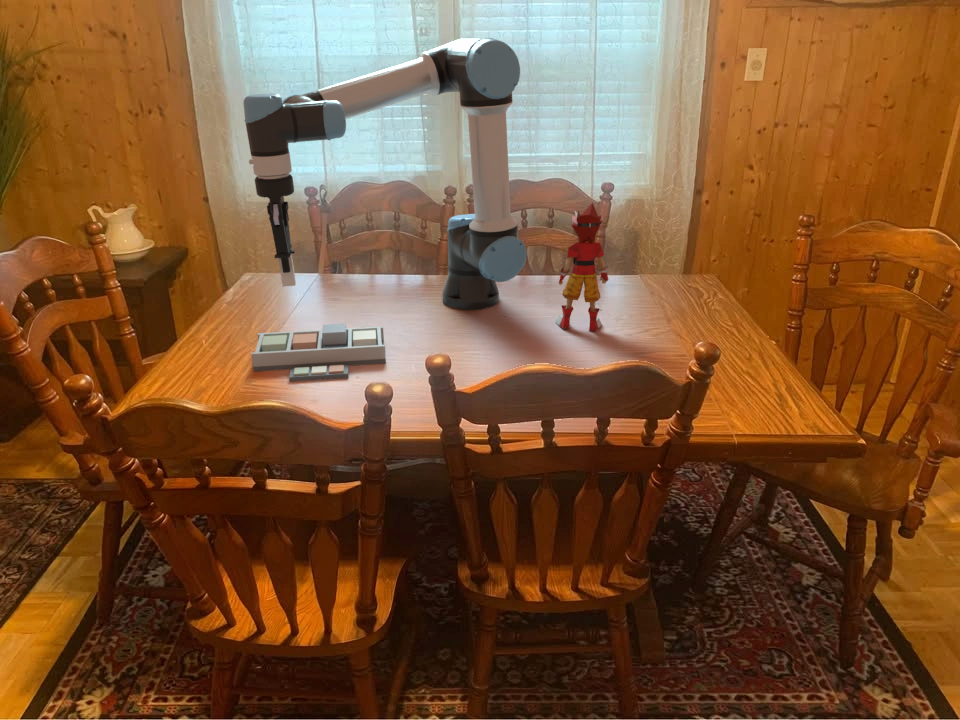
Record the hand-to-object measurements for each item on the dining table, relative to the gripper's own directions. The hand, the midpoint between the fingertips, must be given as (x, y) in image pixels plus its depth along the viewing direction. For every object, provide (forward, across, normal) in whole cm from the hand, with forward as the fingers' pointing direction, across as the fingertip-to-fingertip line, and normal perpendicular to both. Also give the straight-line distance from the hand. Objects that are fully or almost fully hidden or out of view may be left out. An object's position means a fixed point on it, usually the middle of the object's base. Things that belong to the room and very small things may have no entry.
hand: (289, 284), depth 159 cm
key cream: (+15, +3, +15) cm, 21 cm away
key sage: (+14, +3, -5) cm, 15 cm away
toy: (+18, -5, +67) cm, 70 cm away
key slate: (+12, +3, +9) cm, 15 cm away
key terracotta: (+14, +3, +2) cm, 15 cm away
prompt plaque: (+16, +13, +5) cm, 21 cm away
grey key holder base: (+16, +3, +5) cm, 17 cm away
